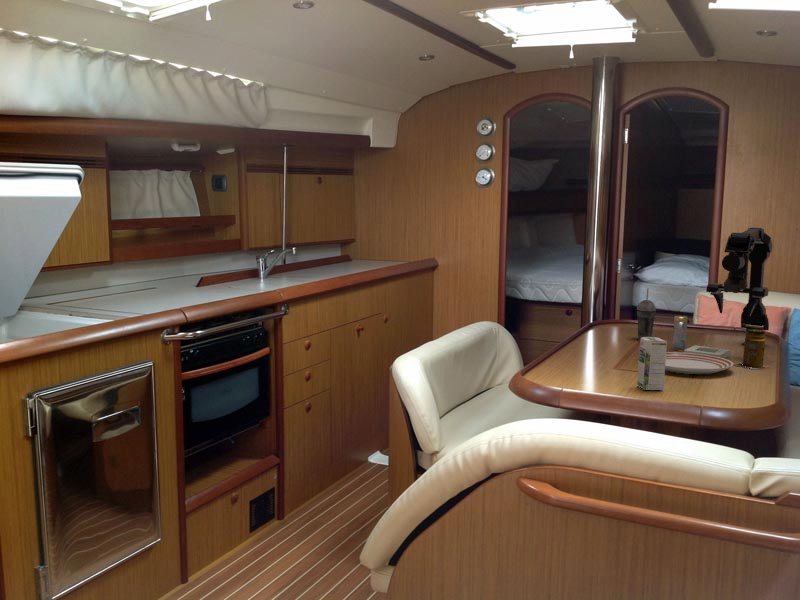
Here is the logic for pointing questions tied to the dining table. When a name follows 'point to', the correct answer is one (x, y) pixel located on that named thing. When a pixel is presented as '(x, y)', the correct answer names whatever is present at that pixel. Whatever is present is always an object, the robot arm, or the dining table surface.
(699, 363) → the dinner plate
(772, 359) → the dining table surface
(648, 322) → the beverage cup
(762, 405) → the dining table surface
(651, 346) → the syrup box
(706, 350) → the white flat square frame
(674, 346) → the jar with gold lid
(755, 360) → the condiment
